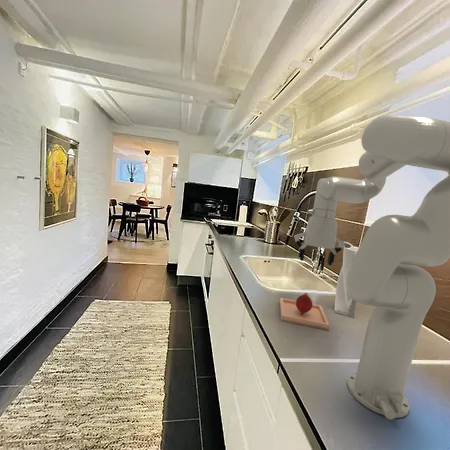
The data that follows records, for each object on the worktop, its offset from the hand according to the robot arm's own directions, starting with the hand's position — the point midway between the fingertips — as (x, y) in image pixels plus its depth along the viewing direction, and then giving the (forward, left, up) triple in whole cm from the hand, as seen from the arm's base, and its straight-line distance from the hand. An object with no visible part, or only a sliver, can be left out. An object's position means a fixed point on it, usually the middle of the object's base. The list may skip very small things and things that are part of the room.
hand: (315, 262), depth 95 cm
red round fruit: (+1, +1, -20) cm, 20 cm away
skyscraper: (+13, -16, -21) cm, 30 cm away
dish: (+1, +1, -21) cm, 21 cm away
